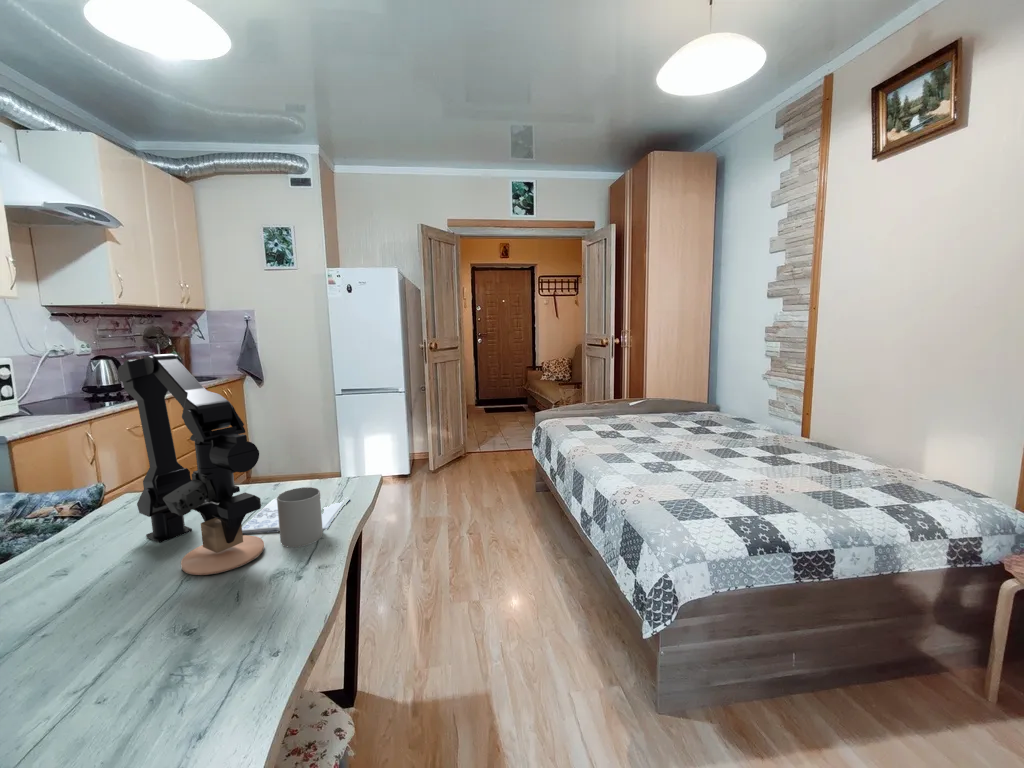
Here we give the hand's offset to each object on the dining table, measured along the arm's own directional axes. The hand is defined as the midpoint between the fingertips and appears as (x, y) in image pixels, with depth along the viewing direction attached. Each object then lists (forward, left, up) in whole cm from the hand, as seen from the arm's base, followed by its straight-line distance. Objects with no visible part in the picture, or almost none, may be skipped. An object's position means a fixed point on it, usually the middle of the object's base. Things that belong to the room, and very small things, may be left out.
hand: (222, 539), depth 89 cm
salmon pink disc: (0, 0, -4) cm, 4 cm away
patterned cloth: (-5, +20, -5) cm, 21 cm away
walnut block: (0, 0, -1) cm, 1 cm away
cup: (+6, +13, -4) cm, 15 cm away
